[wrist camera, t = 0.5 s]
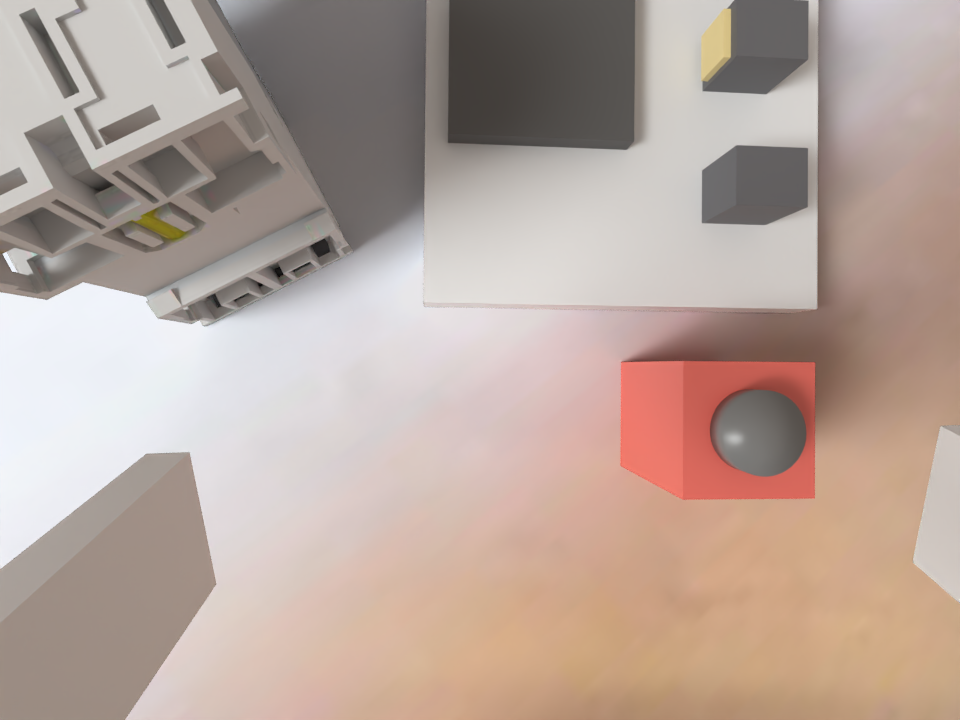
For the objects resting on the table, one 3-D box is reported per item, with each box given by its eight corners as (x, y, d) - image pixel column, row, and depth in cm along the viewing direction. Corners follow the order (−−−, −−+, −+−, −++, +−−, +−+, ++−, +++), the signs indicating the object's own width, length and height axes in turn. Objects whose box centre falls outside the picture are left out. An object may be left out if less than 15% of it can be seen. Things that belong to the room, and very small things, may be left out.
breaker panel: (790, 313, 28) (866, 302, 23) (424, 306, 27) (421, 293, 22) (792, -129, 29) (867, -234, 24) (428, -158, 27) (427, -275, 22)
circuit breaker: (206, -25, 26) (-93, -534, 11) (353, 252, 27) (248, 109, 12) (54, 45, 26) (-469, -393, 11) (206, 326, 26) (-99, 275, 11)
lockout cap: (720, 465, 28) (833, 504, 20) (620, 465, 28) (695, 506, 20) (721, 363, 28) (833, 362, 20) (621, 362, 28) (696, 360, 20)
